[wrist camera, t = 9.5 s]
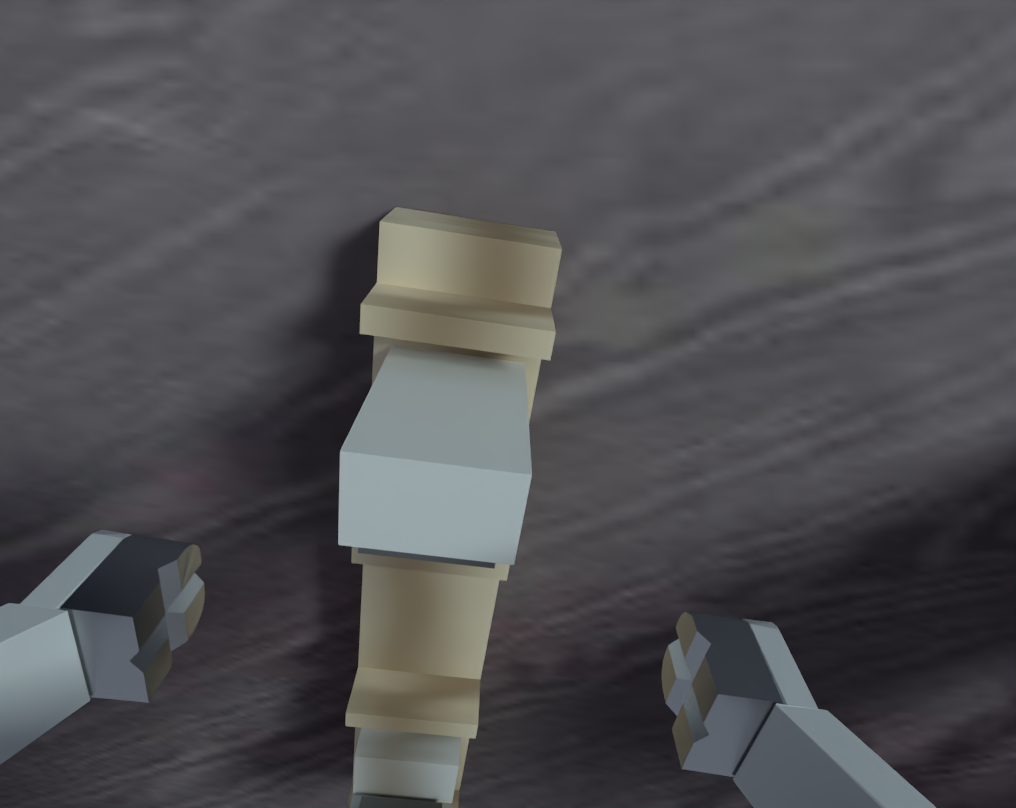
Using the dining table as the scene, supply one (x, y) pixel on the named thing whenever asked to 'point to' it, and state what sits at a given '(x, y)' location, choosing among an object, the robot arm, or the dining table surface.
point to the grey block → (438, 460)
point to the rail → (425, 584)
